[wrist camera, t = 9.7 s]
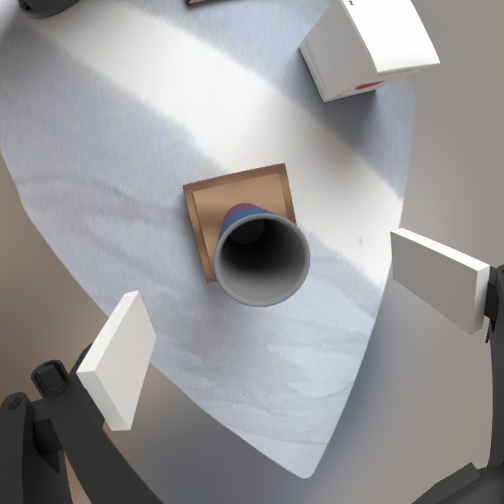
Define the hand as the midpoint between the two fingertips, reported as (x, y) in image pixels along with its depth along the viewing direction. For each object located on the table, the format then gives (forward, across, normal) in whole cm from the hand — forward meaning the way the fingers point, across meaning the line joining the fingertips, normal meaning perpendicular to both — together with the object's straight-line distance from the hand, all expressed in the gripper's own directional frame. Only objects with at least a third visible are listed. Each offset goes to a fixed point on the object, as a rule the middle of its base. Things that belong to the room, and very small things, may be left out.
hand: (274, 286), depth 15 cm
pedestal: (+25, 0, -1) cm, 25 cm away
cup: (+22, 0, -1) cm, 22 cm away
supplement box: (+25, +17, +17) cm, 35 cm away
